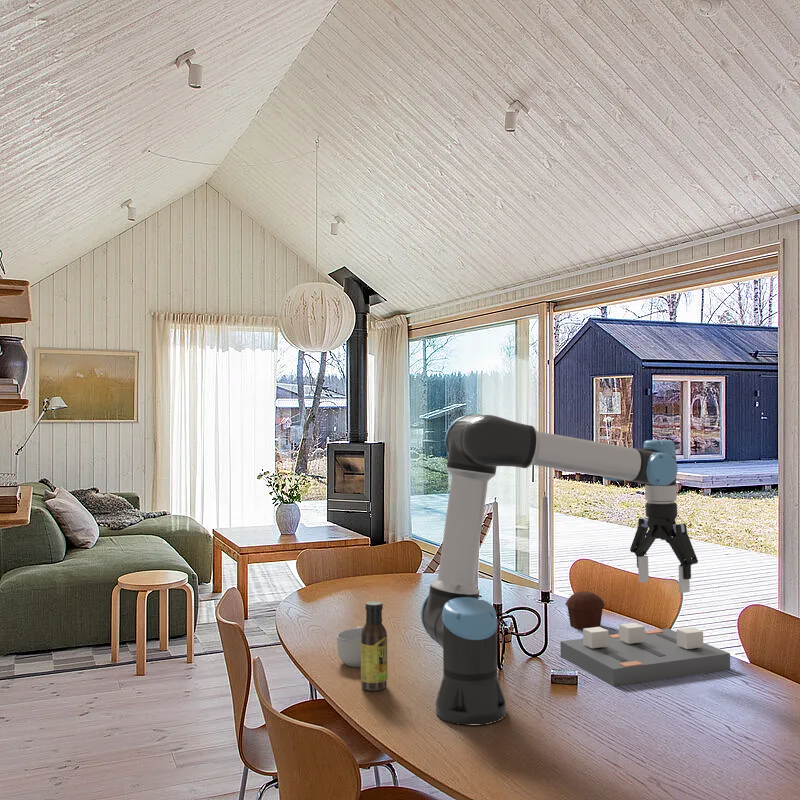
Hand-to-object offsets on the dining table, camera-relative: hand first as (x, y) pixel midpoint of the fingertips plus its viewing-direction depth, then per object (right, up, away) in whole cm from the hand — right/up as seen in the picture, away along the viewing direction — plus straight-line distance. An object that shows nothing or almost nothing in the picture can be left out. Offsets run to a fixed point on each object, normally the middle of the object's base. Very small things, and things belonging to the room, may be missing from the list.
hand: (663, 586), depth 197 cm
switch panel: (-3, -21, +5) cm, 22 cm away
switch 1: (-15, -17, +6) cm, 23 cm away
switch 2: (+8, -16, +5) cm, 19 cm away
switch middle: (-5, -16, +10) cm, 20 cm away
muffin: (-10, -22, +40) cm, 47 cm away
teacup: (-76, -22, +9) cm, 80 cm away
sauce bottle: (-72, -22, -11) cm, 76 cm away
